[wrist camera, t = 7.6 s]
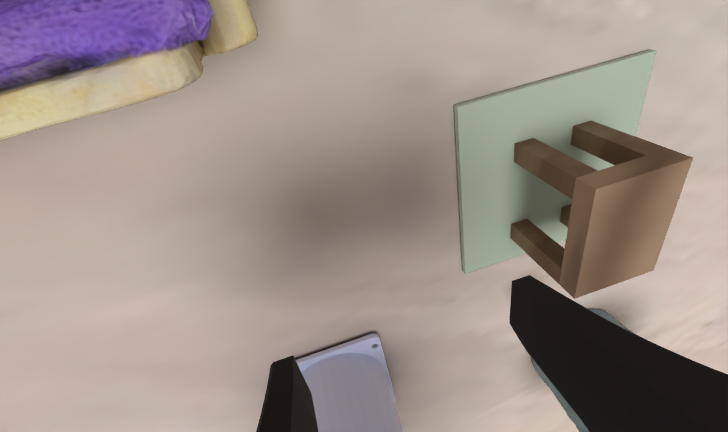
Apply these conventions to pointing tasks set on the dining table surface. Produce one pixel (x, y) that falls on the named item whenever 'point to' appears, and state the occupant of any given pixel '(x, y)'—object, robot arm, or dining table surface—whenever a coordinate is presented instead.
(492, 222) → the mat
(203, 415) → the dining table surface
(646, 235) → the stool
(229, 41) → the toy sofa
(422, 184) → the dining table surface
